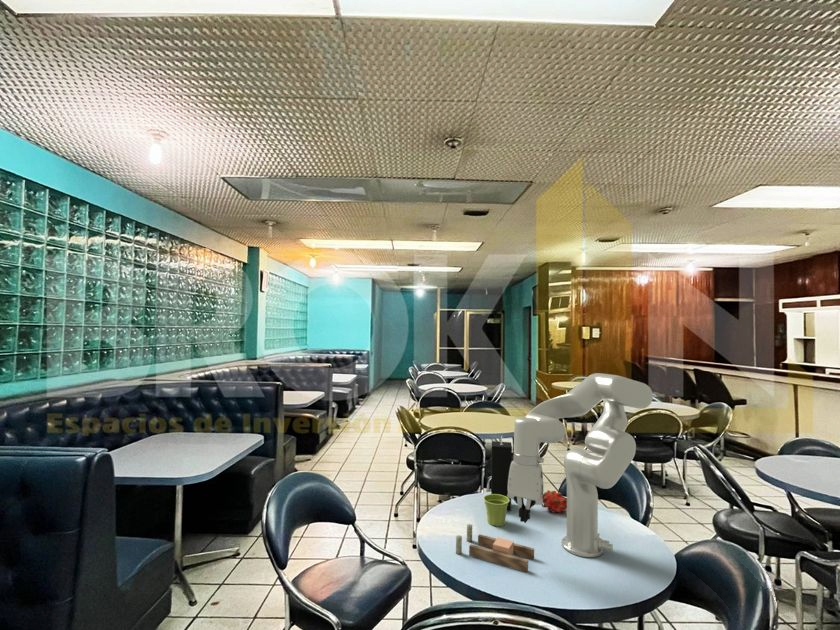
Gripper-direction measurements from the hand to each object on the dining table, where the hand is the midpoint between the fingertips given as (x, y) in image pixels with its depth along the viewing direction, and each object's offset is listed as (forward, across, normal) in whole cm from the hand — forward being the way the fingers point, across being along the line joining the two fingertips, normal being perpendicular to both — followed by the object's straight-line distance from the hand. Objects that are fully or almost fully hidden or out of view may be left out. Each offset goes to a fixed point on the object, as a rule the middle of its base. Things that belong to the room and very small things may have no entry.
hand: (524, 520), depth 128 cm
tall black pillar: (+13, +19, -38) cm, 44 cm away
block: (+13, +7, -1) cm, 15 cm away
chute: (+13, +9, -1) cm, 16 cm away
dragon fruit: (+12, -1, -45) cm, 46 cm away
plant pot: (+13, +16, -23) cm, 31 cm away
